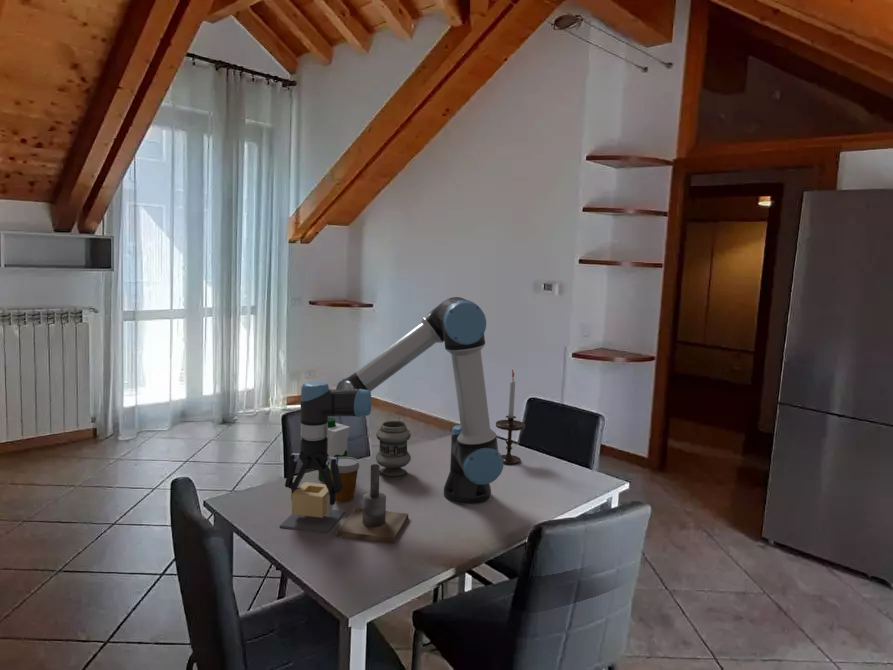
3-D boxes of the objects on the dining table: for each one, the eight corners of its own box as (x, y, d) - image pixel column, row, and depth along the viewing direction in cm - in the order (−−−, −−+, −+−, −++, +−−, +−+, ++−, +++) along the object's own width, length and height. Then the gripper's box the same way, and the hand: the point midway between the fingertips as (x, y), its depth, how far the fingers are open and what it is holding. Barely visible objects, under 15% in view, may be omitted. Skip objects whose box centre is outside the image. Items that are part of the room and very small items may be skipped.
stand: (408, 518, 185) (410, 459, 183) (393, 543, 170) (395, 478, 167) (355, 512, 188) (356, 453, 186) (336, 536, 173) (337, 472, 170)
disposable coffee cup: (352, 506, 193) (353, 468, 191) (323, 502, 195) (323, 464, 193) (363, 494, 202) (363, 458, 200) (334, 490, 204) (335, 454, 202)
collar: (333, 505, 185) (334, 485, 184) (322, 517, 176) (322, 497, 176) (304, 501, 187) (304, 482, 186) (291, 513, 178) (292, 493, 177)
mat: (344, 512, 188) (345, 511, 188) (327, 533, 174) (327, 531, 174) (300, 507, 190) (300, 505, 190) (279, 527, 177) (279, 525, 177)
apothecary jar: (368, 472, 221) (369, 422, 219) (395, 465, 229) (397, 416, 227) (389, 482, 213) (390, 430, 210) (417, 474, 221) (418, 424, 218)
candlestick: (491, 456, 243) (496, 366, 238) (519, 456, 245) (524, 366, 240) (496, 465, 233) (501, 372, 228) (525, 465, 234) (531, 372, 229)
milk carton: (332, 471, 220) (332, 415, 218) (352, 477, 216) (353, 420, 213) (314, 479, 213) (314, 421, 210) (334, 485, 208) (335, 426, 206)
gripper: (355, 436, 180) (353, 511, 184) (283, 429, 184) (283, 503, 187) (346, 444, 173) (345, 522, 176) (272, 437, 177) (271, 513, 180)
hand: (313, 512), depth 182 cm, fingers closed on collar, 9 cm apart
